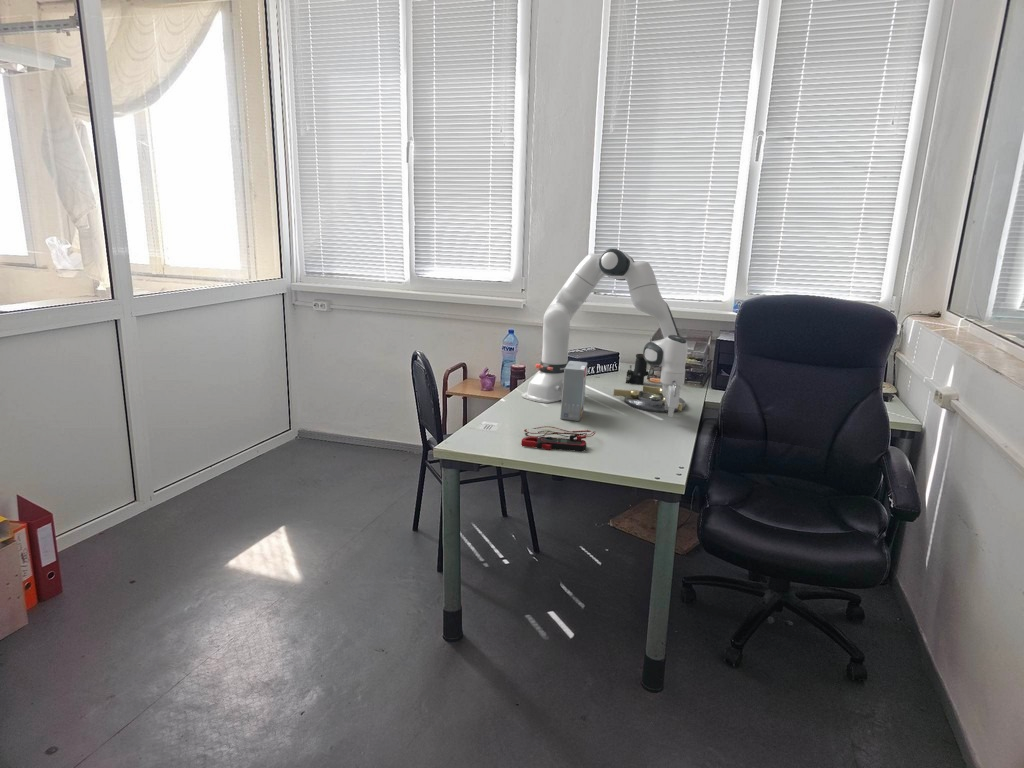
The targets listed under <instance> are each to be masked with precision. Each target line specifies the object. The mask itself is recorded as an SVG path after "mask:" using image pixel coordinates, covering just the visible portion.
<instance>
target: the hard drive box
mask: <svg viewBox="0 0 1024 768" xmlns="http://www.w3.org/2000/svg"><path fill="white" fill-rule="evenodd" d="M567 362H568V364H567V365H566V367H565V369H564V380H563V392H562V400H561V404H560V415H559V416H560V417H559V419H560V420H566V421H567V420H569V421H574V422H575V421H578V422H579V421H581V418H582V415H583V412H584V405H585V396H586V395H585V394H586V384H587V375H588V374H587V373H588V362H584V361H577V360H576V361H575V360H568V361H567Z"/></svg>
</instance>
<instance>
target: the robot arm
mask: <svg viewBox="0 0 1024 768" xmlns="http://www.w3.org/2000/svg"><path fill="white" fill-rule="evenodd" d="M604 277H608V278H611V279H615V280H617V281H626V283H627V285H628V290H629V295H630V299H631V302H632V304H633V306H634V307H635V308H636V309H637V310H638V311H640V312H643V313H645V314H648V315H650V317H653V318H654V319H655V320H656V321H657V323H658V325H659V329H660V330H661V333H662V336H663V338H661V339H657V340H652V341H648V342H647V343H646V344H645V345H644V347H643V350H642V354H643V357H644V359H645V361H646V362H647V365H650V366H661V372H660V380H659V381H660V383H662V384H661V388H662V394H663V396H664V398H665V407H664V408H665V409H666V410H668V413H667V416H668V418H673V416H674V413H675V412H674V410H675V408H678V406H679V397H680V393H681V392H680V391H681V390H680V388H681V386H682V385H685V379H686V377H685V376H686V364H687V360H688V353H689V350H688V349H689V348H688V342H687V339H686V338H684V337H682V336H680V333H679V330H678V327H677V325H676V322H675V319H674V317H673V314H672V311H671V308H670V306H669V305H668V303H667V302H666V301H665V300H664V298H663V296H662V295H661V293H660V290H659V285H658V281H657V277H656V275H655V273H654V270H653V267H652V265H651V264H650V263H649V262H648V261H645V260H638V261H637V260H636V261H634V259H633V257H632V256H630V255H629V254H628V253H627V252H625V251H621V250H620V249H617V248H608V249H605V250H604V251H602V253H601V254H597V253H589V254H587V255H585V257H584V258H583V259H582V260H581V261H580V262H579V263H578V265H577V266H576V267H575V268H574V270H573V271H572V273H571V274H570V276H569V277H568V279H566V281H565V282H564V284H563V285H562V287H561V289H559V291H558V293H557V294H556V295H555V297H554V299H553V300H552V301H551V302H550V304H549V305H548V306H547V308H546V310H545V312H544V314H543V319H542V351H541V360H540V363H536V364H535V369H538V371H537V372H536V373H535V375H534V376H533V377H532V379H531V380H530V381H529V382H528V386H527V391H525V392H523V393H521V397H522V398H524V399H526V400H529V401H532V402H537V403H544V404H547V403H554V402H558V401H562V392H563V380H564V369H565V367H566V365H567V364H568V362H569V360H568V359H569V358H568V357H569V341H570V325H571V320H572V319H573V317H574V316H575V315H576V313H577V312H578V311H579V309H580V308H581V307H582V306H583V304H584V303H586V301H587V300H588V298H589V296H590V295H591V293H592V292H593V290H594V289H595V288H596V286H597V285H598V283H600V281H601V280H602V278H604Z"/></svg>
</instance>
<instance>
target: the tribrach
mask: <svg viewBox="0 0 1024 768" xmlns="http://www.w3.org/2000/svg"><path fill="white" fill-rule="evenodd" d="M638 391H639V398H632V397H624V403H625V404H626V405H627V406H628V407H631V408H634V409H637V410H639V411H644V412H651V413H660V414H661V413H662V414H664V413H665V414H668V410H666V409H665V408H664V407H665V405H663V397H664V396H662V395H659V394H653V393H646V392H643V390H638ZM679 403H681V404H683V405H682V410H681V411H683V410H685V407H686V401H685V400H684V399H683V398H682V397H680V396H679ZM679 412H680V411H679V410H677V409H675V410H674V412H673V413H679Z"/></svg>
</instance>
